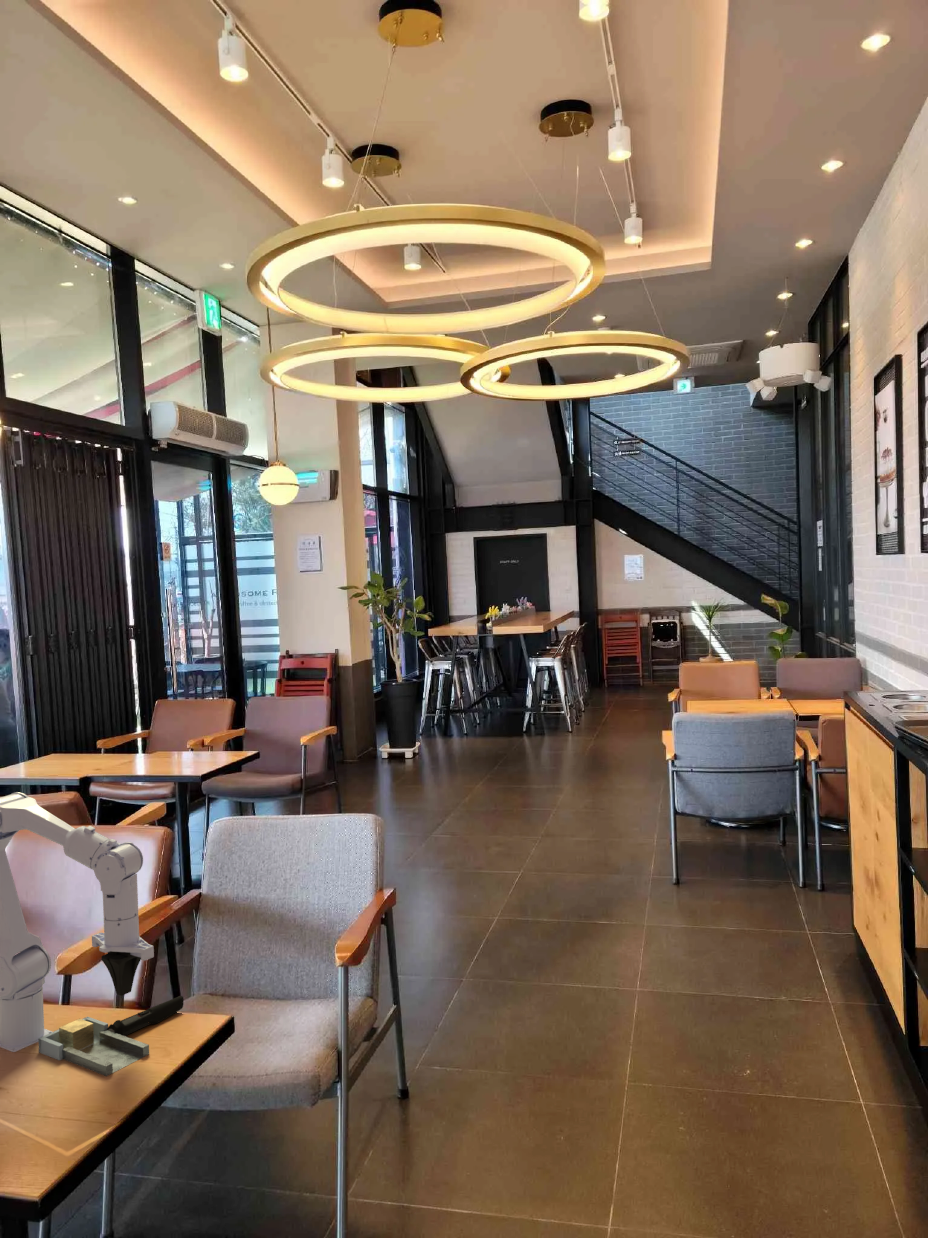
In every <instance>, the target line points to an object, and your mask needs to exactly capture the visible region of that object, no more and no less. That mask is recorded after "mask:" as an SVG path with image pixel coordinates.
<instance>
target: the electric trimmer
mask: <svg viewBox="0 0 928 1238" xmlns="http://www.w3.org/2000/svg"><path fill="white" fill-rule="evenodd" d="M183 1007H184V997H183V995H179V996H177V997H174V998H172V999H169V1000H166V1001H164V1002H161V1003H160V1004H157V1005H155V1006H152V1007H149V1008H147V1009H145V1010H143V1011H140V1012H137V1014H134V1015H131V1016H128V1017H126V1018H124V1019H117V1020H115V1021H114V1022H113V1024H112V1023H111V1024H108V1028H107V1030H108V1031H111V1032H114V1033H117V1034H120V1035H123V1036H125V1037H127V1036H129V1034H132V1033H135V1032H136V1031H138V1030H141V1029H143V1028H145V1027H147V1026H150V1025H157V1024H158V1023H160V1022H162V1021H163V1020H166V1019H168V1018H169V1017H171V1016H173V1015H174V1014H175V1013H177V1012H179V1011H181V1010H183Z"/></svg>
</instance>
